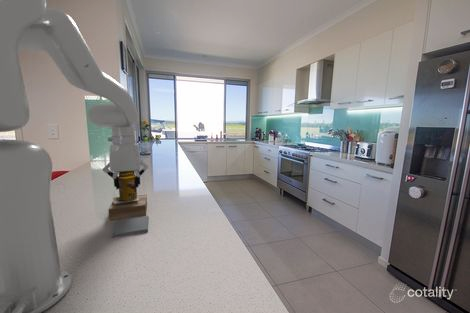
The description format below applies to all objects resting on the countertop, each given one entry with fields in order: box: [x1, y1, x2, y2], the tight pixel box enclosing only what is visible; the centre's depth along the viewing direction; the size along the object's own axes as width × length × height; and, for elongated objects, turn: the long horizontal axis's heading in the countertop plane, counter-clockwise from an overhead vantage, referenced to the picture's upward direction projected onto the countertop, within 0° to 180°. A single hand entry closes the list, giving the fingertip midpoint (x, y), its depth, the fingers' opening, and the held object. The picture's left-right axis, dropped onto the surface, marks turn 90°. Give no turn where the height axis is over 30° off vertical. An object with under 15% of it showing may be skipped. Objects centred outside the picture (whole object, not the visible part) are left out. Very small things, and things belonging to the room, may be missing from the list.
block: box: [108, 194, 148, 221], centre depth 82 cm, size 12×12×4 cm
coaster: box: [111, 215, 150, 238], centre depth 70 cm, size 10×10×1 cm
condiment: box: [112, 171, 140, 204], centre depth 80 cm, size 7×8×12 cm
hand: (127, 186), depth 80 cm, fingers closed on condiment, 6 cm apart
